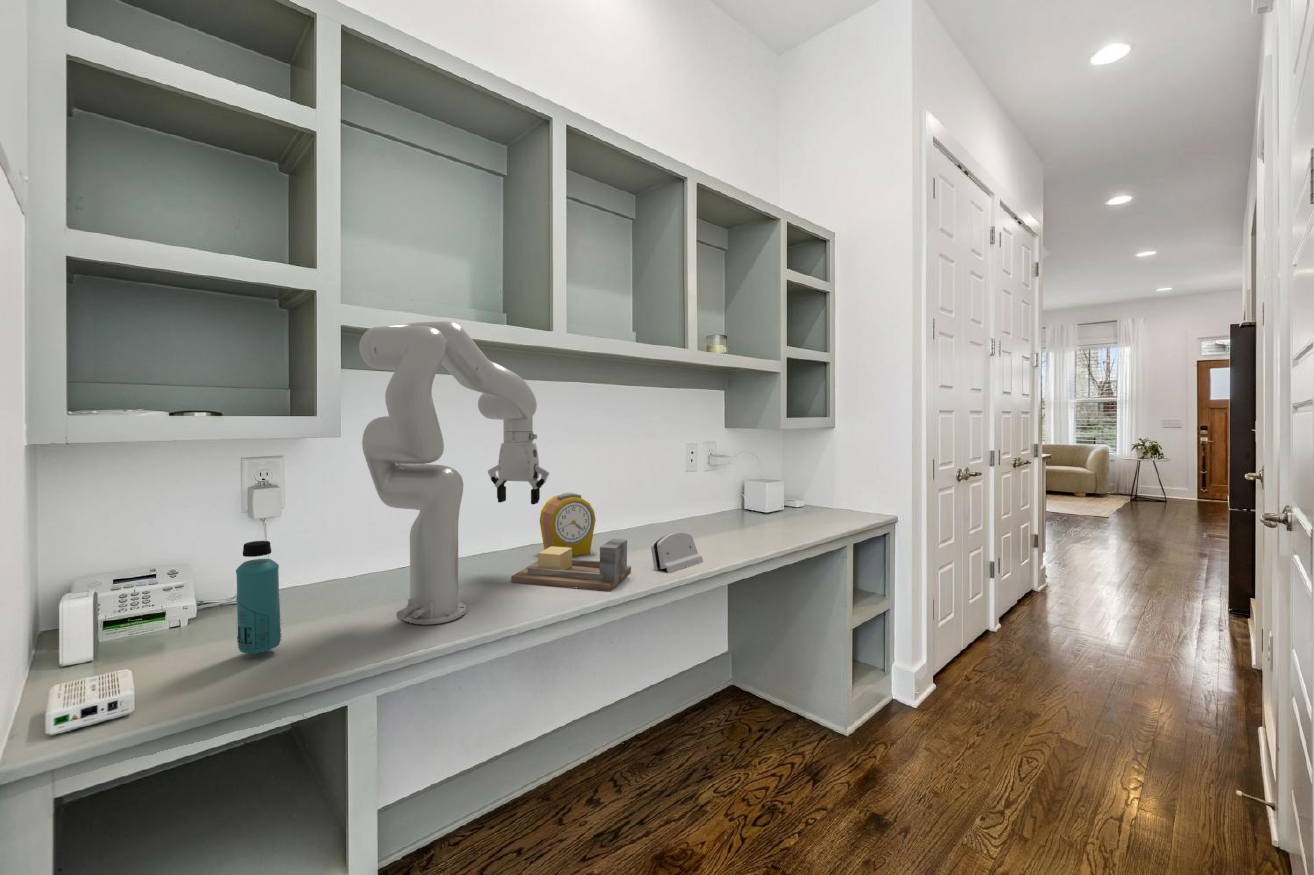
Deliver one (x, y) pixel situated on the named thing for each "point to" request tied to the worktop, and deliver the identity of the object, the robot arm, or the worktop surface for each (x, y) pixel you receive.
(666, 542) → the hinge
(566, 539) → the alarm clock
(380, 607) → the worktop surface
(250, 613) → the beverage bottle
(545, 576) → the base
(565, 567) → the block
